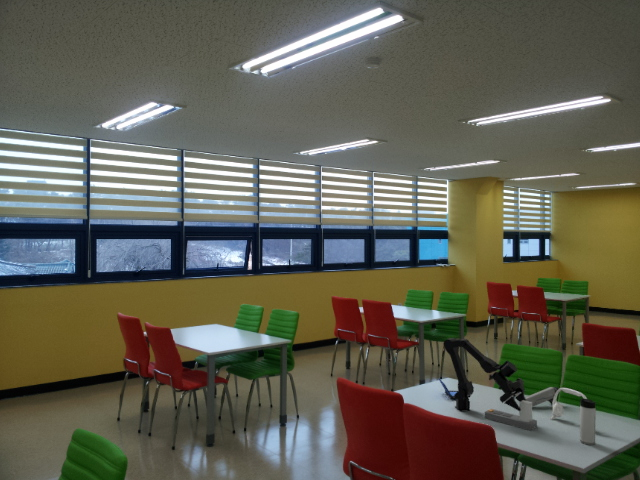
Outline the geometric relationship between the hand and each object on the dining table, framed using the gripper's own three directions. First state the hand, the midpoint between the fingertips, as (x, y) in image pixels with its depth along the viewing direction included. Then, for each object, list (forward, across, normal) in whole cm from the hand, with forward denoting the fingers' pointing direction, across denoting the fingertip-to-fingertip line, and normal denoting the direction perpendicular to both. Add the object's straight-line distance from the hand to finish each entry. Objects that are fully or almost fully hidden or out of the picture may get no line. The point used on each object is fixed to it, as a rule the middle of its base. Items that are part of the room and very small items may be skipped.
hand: (524, 408), depth 249 cm
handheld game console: (-30, +18, +42) cm, 54 cm away
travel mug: (+27, 0, -14) cm, 31 cm away
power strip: (+1, 0, +11) cm, 11 cm away
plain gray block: (+7, 0, +6) cm, 9 cm away
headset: (+18, +20, -5) cm, 27 cm away
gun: (+2, +39, +11) cm, 40 cm away
